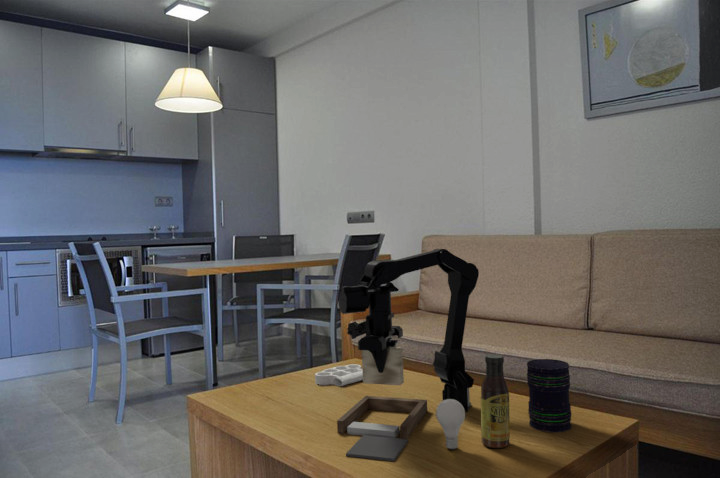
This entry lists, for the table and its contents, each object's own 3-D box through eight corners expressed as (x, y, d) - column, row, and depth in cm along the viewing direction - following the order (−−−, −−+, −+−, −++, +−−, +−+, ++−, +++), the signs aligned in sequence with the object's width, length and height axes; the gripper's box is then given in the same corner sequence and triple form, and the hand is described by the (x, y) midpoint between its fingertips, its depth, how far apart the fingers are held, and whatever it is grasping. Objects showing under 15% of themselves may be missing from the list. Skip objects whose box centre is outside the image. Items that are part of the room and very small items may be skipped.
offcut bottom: (400, 435, 135) (400, 430, 135) (395, 441, 131) (395, 436, 131) (353, 431, 139) (353, 426, 139) (348, 436, 135) (347, 432, 135)
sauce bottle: (493, 452, 120) (489, 360, 120) (475, 442, 126) (472, 355, 126) (517, 446, 123) (513, 356, 123) (499, 436, 129) (495, 351, 128)
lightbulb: (471, 452, 121) (469, 401, 121) (445, 456, 119) (442, 405, 119) (458, 441, 127) (456, 393, 127) (433, 445, 125) (430, 397, 125)
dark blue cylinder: (553, 435, 128) (550, 371, 128) (520, 424, 136) (517, 363, 136) (580, 426, 133) (578, 364, 133) (547, 415, 142) (544, 357, 141)
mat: (408, 441, 128) (407, 439, 128) (394, 461, 118) (394, 458, 118) (363, 437, 132) (363, 435, 132) (346, 456, 122) (345, 453, 122)
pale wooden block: (403, 382, 142) (402, 347, 142) (400, 385, 139) (398, 349, 139) (367, 380, 146) (365, 345, 145) (363, 383, 143) (361, 348, 143)
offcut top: (399, 430, 134) (399, 425, 134) (394, 436, 131) (394, 431, 131) (353, 426, 139) (353, 421, 139) (347, 432, 135) (347, 427, 135)
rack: (427, 411, 149) (426, 399, 149) (406, 439, 130) (406, 426, 130) (366, 406, 155) (365, 395, 155) (337, 432, 136) (337, 420, 136)
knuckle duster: (334, 390, 173) (307, 382, 184) (376, 378, 185) (348, 371, 196) (334, 380, 173) (306, 372, 184) (376, 368, 185) (348, 362, 196)
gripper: (363, 304, 154) (365, 360, 154) (336, 315, 136) (339, 379, 136) (402, 305, 150) (404, 362, 150) (379, 316, 132) (382, 381, 132)
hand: (382, 370), depth 142 cm, fingers closed on pale wooden block, 3 cm apart
